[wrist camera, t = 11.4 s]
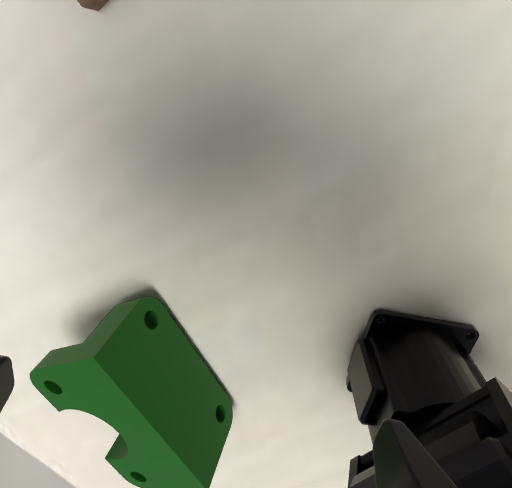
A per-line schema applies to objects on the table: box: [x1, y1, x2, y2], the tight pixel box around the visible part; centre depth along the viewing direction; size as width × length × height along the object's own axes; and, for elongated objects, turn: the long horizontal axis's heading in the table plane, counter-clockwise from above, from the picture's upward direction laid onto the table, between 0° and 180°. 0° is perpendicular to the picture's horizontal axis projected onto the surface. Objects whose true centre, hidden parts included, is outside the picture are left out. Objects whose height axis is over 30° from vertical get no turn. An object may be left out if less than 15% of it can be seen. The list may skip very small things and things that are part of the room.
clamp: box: [30, 296, 233, 488], centre depth 24 cm, size 12×6×9 cm, turn 21°
